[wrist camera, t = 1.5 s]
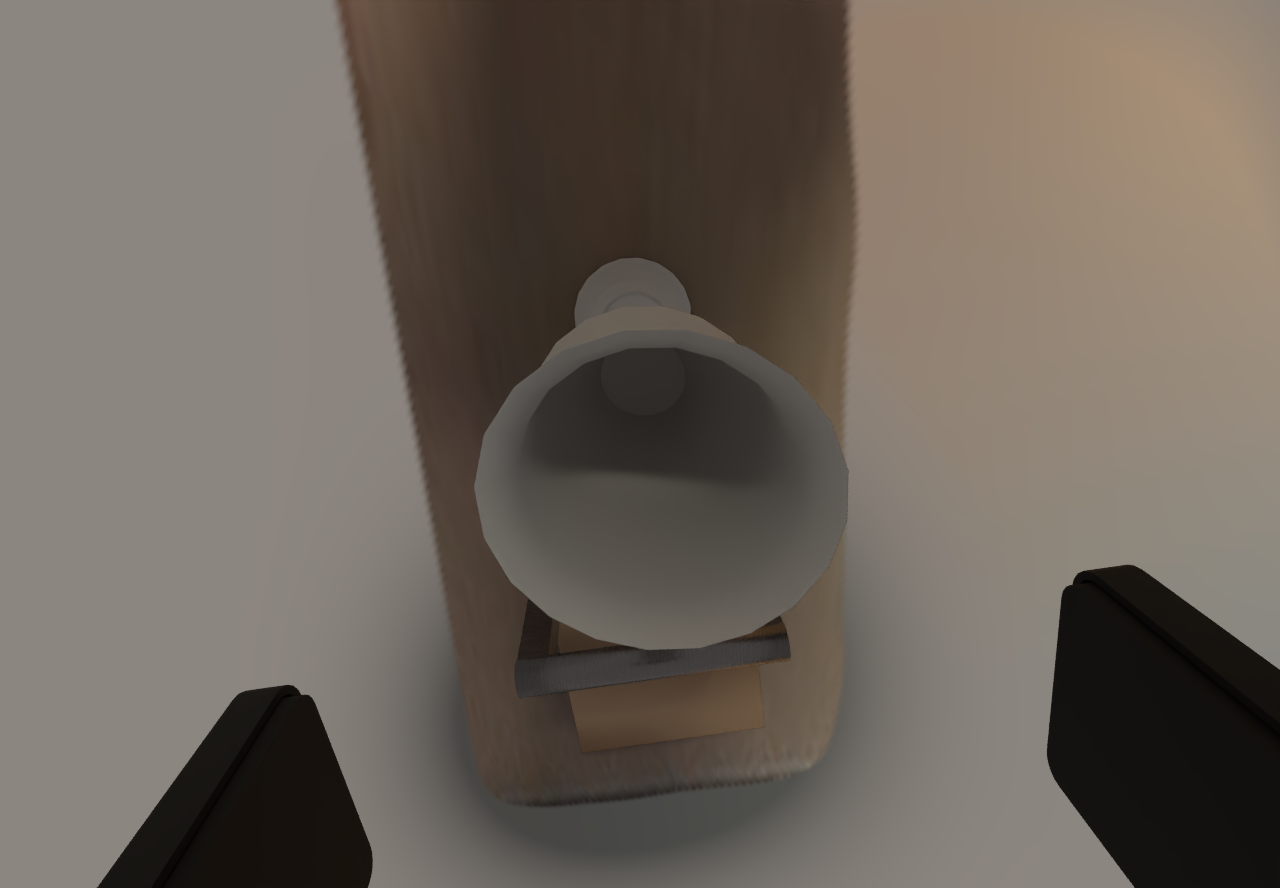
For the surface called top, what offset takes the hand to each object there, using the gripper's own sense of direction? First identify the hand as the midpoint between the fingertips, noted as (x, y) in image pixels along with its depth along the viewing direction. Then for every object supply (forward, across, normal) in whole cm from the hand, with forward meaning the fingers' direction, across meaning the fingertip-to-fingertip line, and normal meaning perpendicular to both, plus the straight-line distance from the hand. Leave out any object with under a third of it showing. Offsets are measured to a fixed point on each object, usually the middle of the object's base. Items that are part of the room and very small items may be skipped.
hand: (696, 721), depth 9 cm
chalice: (+23, 0, -1) cm, 23 cm away
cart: (+23, +1, +13) cm, 27 cm away
